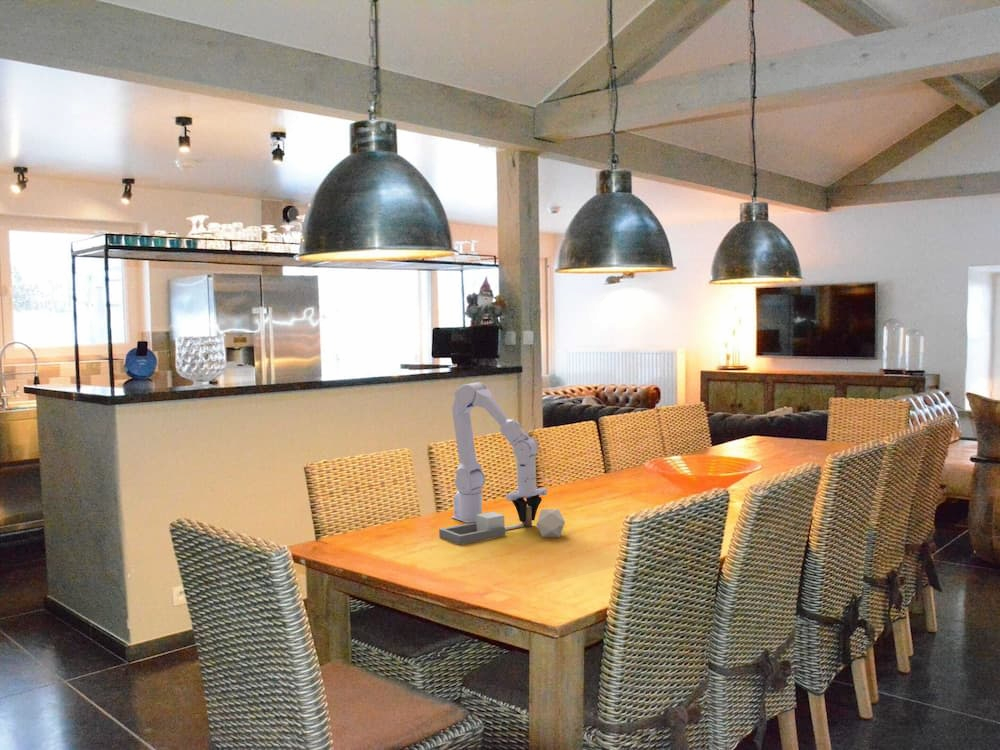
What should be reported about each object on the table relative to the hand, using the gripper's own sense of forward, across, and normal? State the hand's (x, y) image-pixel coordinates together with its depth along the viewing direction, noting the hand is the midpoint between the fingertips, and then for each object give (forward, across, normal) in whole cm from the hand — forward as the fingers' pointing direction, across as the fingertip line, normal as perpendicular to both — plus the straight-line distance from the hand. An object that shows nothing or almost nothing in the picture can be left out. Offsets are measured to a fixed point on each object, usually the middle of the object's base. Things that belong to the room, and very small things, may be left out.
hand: (527, 520), depth 271 cm
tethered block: (+2, -8, 0) cm, 8 cm away
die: (+2, -2, -14) cm, 14 cm away
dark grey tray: (+2, -20, 0) cm, 20 cm away
